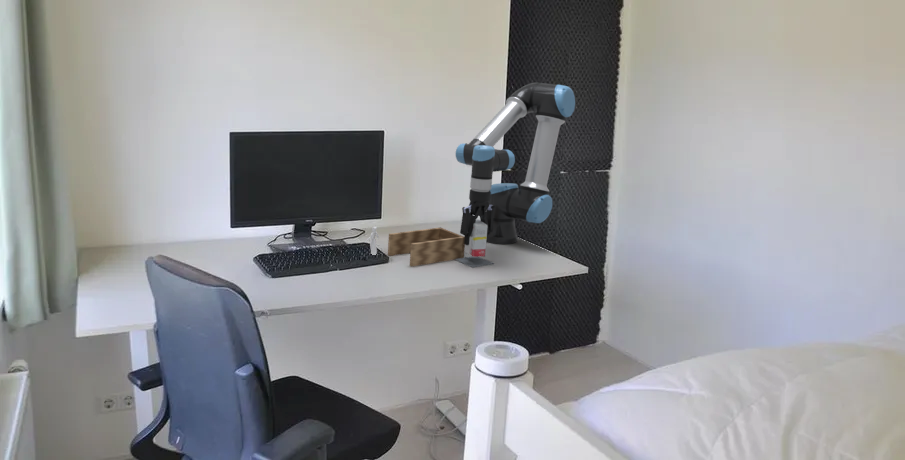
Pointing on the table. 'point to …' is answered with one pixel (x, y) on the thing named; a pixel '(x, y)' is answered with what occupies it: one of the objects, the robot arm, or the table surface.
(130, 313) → the table surface
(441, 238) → the wooden frame
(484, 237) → the ink box
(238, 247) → the table surface
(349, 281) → the table surface
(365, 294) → the table surface
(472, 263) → the mat
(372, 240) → the figurine
